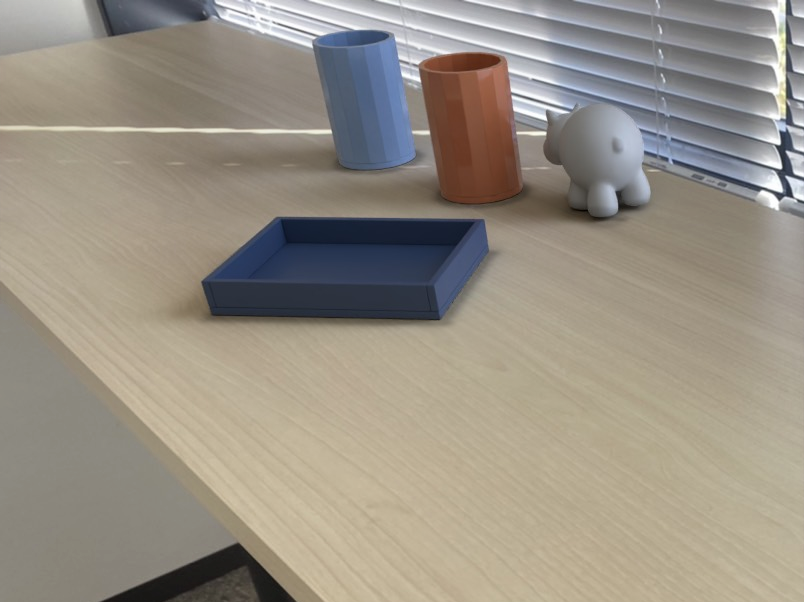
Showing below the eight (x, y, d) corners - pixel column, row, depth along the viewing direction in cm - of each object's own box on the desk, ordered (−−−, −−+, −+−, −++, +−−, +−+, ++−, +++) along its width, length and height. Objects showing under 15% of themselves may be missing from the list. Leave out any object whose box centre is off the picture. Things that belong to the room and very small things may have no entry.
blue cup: (327, 169, 111) (299, 47, 105) (354, 146, 117) (329, 29, 111) (401, 170, 110) (378, 47, 104) (425, 146, 116) (405, 29, 110)
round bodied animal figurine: (589, 174, 108) (580, 79, 103) (664, 207, 101) (658, 106, 96) (522, 192, 105) (509, 93, 100) (594, 227, 97) (584, 123, 92)
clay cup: (430, 203, 103) (406, 73, 96) (454, 176, 109) (433, 51, 102) (511, 204, 102) (493, 73, 96) (531, 177, 108) (515, 51, 102)
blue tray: (210, 315, 84) (200, 281, 83) (284, 247, 95) (276, 216, 93) (440, 319, 83) (434, 285, 81) (489, 250, 93) (484, 218, 92)
